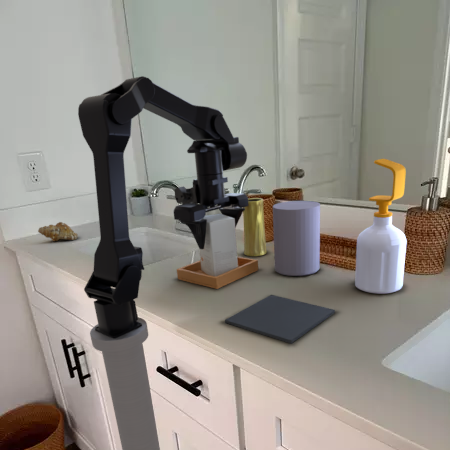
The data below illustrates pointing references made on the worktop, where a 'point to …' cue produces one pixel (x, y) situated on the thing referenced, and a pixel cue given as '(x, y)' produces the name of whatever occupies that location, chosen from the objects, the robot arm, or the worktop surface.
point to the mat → (280, 318)
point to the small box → (219, 245)
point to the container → (296, 237)
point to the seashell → (58, 232)
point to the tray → (199, 277)
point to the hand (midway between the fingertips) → (215, 244)
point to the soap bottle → (382, 242)
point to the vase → (254, 228)
